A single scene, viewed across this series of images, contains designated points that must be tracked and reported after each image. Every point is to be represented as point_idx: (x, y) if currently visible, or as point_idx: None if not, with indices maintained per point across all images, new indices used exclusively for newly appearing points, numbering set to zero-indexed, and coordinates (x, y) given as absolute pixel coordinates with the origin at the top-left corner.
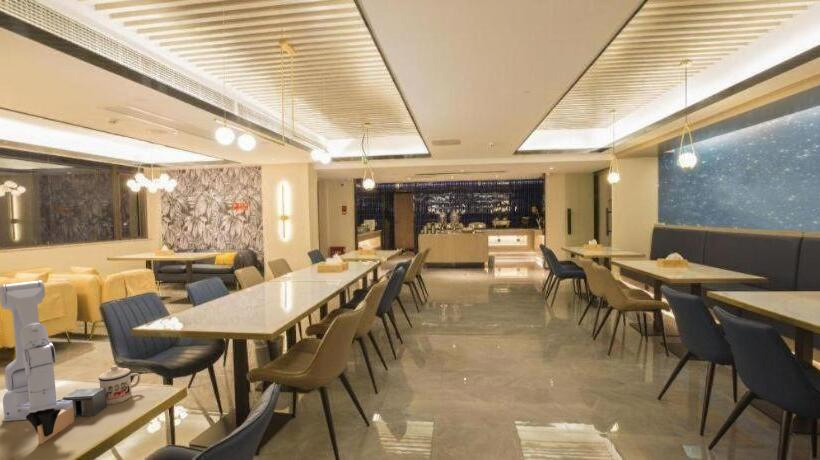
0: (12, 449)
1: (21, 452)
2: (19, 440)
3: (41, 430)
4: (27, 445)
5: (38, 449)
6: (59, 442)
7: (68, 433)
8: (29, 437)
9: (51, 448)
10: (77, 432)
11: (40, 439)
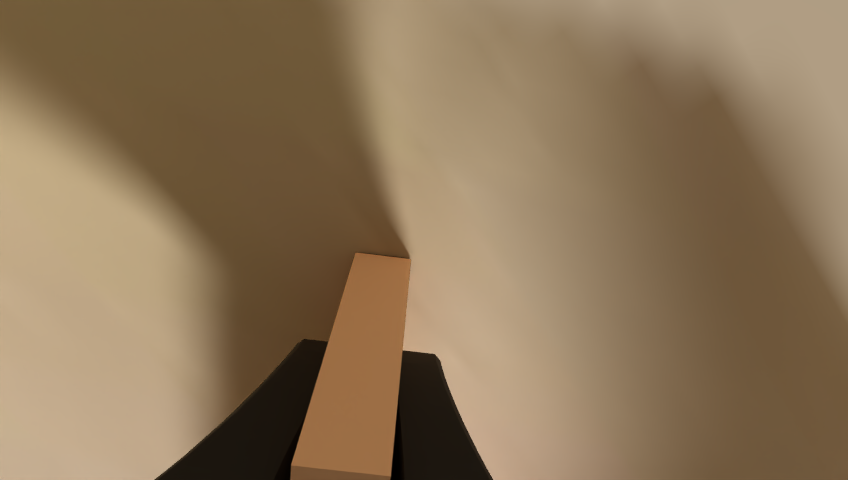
0: (734, 183)
1: (528, 36)
2: (754, 415)
3: (318, 388)
4: (561, 251)
5: (290, 71)
6: (102, 222)
7: (176, 437)
8: (657, 457)
9: (77, 49)
10: (66, 434)
11: (376, 288)
